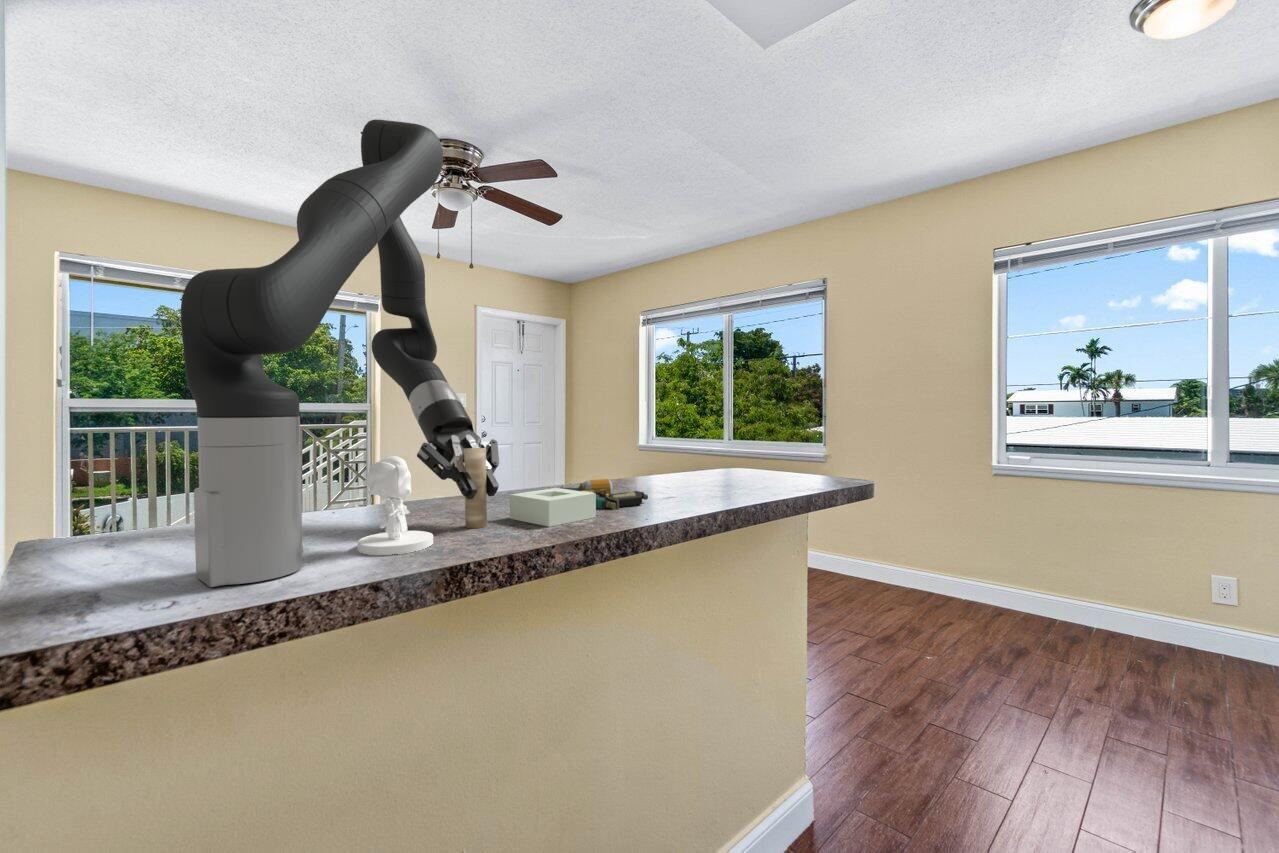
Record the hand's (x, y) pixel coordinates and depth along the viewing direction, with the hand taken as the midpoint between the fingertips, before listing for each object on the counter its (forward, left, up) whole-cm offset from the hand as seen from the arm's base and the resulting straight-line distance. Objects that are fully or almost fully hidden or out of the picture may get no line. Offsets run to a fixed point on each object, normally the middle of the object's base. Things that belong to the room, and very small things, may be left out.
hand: (483, 493), depth 85 cm
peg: (0, +2, -5) cm, 6 cm away
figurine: (-14, -1, -5) cm, 15 cm away
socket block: (+12, -2, -5) cm, 13 cm away
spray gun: (+28, +3, -6) cm, 28 cm away
